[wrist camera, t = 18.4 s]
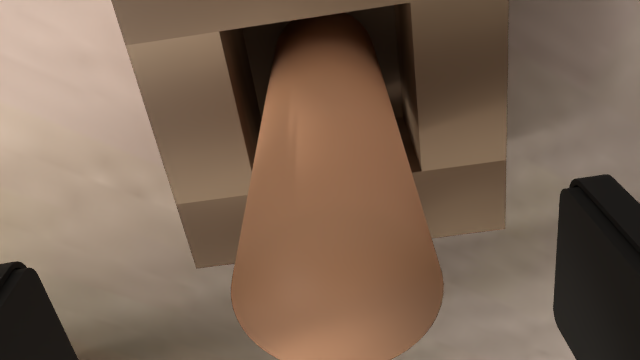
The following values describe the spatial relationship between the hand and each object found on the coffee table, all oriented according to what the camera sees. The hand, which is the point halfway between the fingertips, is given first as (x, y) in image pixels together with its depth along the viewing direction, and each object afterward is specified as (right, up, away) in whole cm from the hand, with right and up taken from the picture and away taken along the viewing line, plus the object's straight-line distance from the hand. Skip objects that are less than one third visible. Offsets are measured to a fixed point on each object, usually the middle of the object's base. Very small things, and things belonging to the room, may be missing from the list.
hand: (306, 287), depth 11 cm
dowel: (0, +6, +9) cm, 11 cm away
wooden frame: (0, +7, +10) cm, 12 cm away
